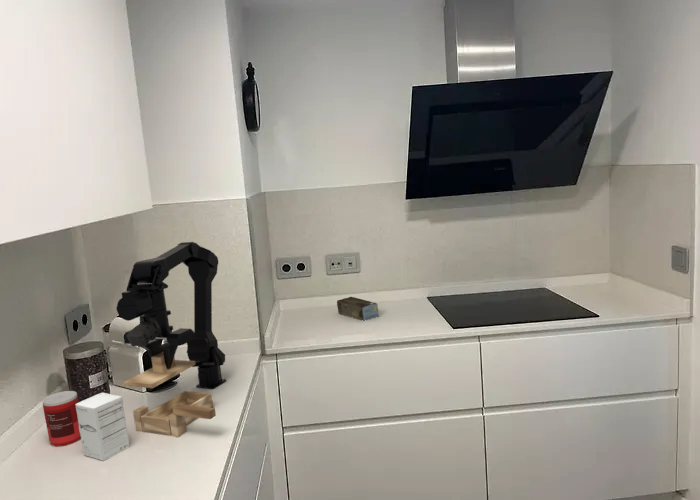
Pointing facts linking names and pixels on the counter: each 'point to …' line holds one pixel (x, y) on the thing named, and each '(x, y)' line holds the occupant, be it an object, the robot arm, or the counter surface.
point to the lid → (159, 372)
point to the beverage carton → (357, 308)
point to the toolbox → (170, 414)
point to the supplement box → (102, 426)
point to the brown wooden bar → (194, 411)
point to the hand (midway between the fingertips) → (163, 368)
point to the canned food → (62, 418)
